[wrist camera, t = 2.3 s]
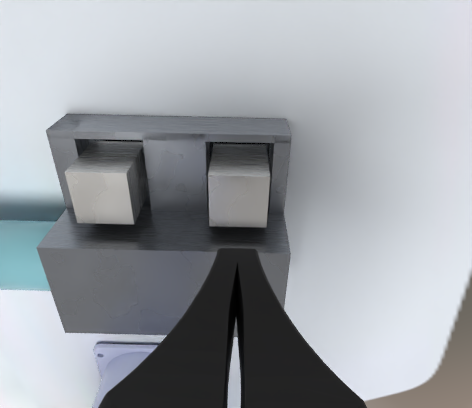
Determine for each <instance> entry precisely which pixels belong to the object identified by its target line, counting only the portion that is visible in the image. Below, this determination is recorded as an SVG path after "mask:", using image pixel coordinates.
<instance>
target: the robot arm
mask: <svg viewBox="0 0 472 408" xmlns="http://www.w3.org/2000/svg"><path fill="white" fill-rule="evenodd" d="M236 321H237V334H238V347H239V360H240V373H241V408H367V407H366V405H365V403H364V401H363V400H362V399H361V398H360V397H359V396H357V395H356V394H355V393H354V392H353V391H352V390H351V389H350V388H349V387H348V386H347V385H346V384H345V383H344V382H342V381H341V380H340V379H339V378H338V377H337V376H336V375H335V373H334V372H333V371H332V370H331V369H330V368H329V367H328V366H327V365H326V364H325V363H324V362H323V361H322V360H321V358H320V357H319V356H318V355H317V354H316V353H315V351H314V350H313V349H312V348H311V347H310V346H309V345H308V343H307V342H306V341H305V339H304V338H303V337H302V335H301V334H300V333H299V332H298V330H297V329H296V327H295V326H294V324H293V323H292V322H291V320H290V319H289V317H288V315H287V314H286V312H285V311H284V309H283V307H282V306H281V304H280V302H279V301H278V299H277V297H276V295H275V293H274V291H273V289H272V287H271V285H270V283H269V281H268V279H267V277H266V275H265V272H264V270H263V267H262V265H261V262H260V259H259V255H258V251H257V250H256V249H243V248H220V249H219V250H218V251H217V255H216V258H215V260H214V263H213V265H212V267H211V270H210V272H209V274H208V276H207V278H206V280H205V281H204V283H203V285H202V287H201V289H200V290H199V292H198V294H197V295H196V297H195V298H194V300H193V302H192V303H191V305H190V306H189V308H188V309H187V311H186V312H185V313H184V315H183V316H182V318H181V319H180V320H179V321H178V323H177V324H176V325H175V327H174V328H173V329H172V330H171V331H170V333H169V334H168V335H167V336H166V337H165V339H164V340H163V341H162V342H161V343H160V344H159V345H129V344H97V345H95V347H94V349H93V351H94V355H95V358H96V361H97V365H98V368H99V372H100V375H101V379H102V380H101V383H100V386H99V389H98V392H97V395H96V397H95V400H94V403H93V406H92V408H227V400H228V381H229V370H230V362H231V354H232V346H233V338H234V330H235V322H236Z"/></svg>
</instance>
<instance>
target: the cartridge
mask: <svg viewBox="0 0 472 408" xmlns="http://www.w3.org/2000/svg"><path fill="white" fill-rule="evenodd" d="M55 223H56V221H19V220H0V290H40V291H51V289H50V286H49V283H48V281H47V278H46V275H45V272H44V269H43V266H42V263H41V260H40V257H39V254H38V251H37V248H36V247H37V246H38V245H39V244H40V242H41V241H42V240H43V238H44V237H45V236H46V234H47V233H48V232H49V230H50V229H51V228H52V227H53V225H54V224H55Z"/></svg>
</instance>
